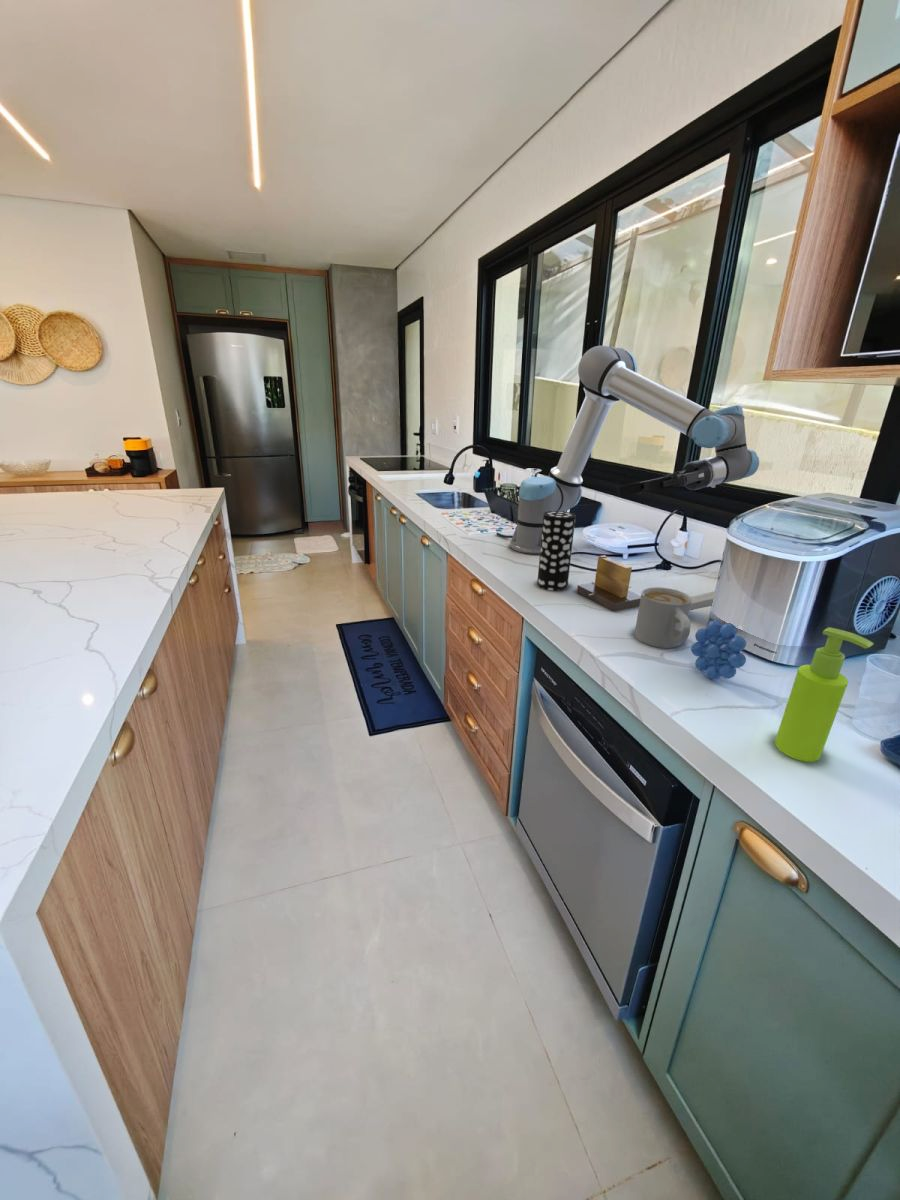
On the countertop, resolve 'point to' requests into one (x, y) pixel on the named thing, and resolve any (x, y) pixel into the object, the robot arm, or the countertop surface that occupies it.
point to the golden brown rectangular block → (613, 576)
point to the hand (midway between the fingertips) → (632, 489)
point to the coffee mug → (663, 617)
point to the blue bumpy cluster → (719, 650)
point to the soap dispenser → (815, 699)
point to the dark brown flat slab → (608, 597)
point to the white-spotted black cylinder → (556, 550)
